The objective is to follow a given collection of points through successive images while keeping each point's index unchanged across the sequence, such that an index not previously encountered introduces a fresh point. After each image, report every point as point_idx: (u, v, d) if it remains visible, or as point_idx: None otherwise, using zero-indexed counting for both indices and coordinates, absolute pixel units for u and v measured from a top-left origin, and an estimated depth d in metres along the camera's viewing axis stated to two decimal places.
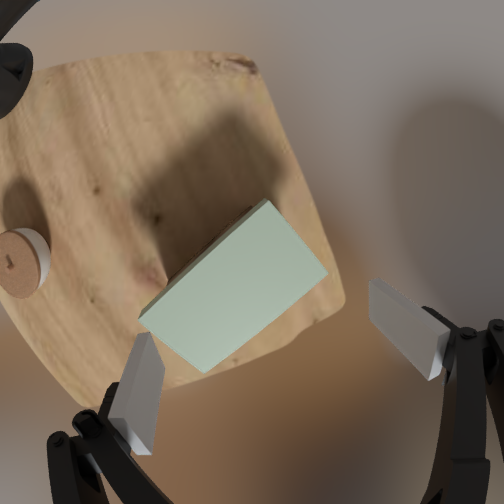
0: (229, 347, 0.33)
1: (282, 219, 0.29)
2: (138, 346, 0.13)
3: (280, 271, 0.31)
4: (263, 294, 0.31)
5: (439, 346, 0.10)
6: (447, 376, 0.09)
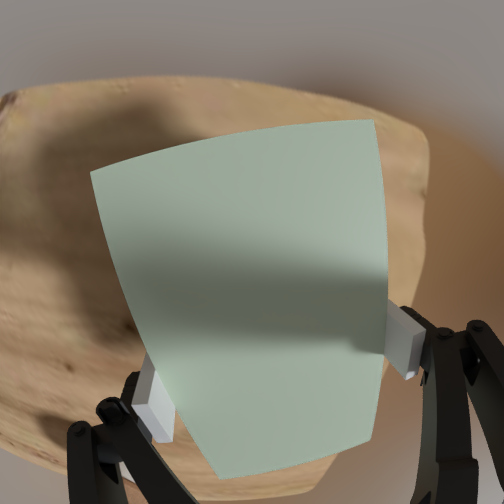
0: (366, 400, 0.14)
1: (152, 158, 0.09)
2: None
3: (292, 235, 0.10)
4: (319, 303, 0.11)
5: (414, 346, 0.10)
6: (425, 377, 0.10)
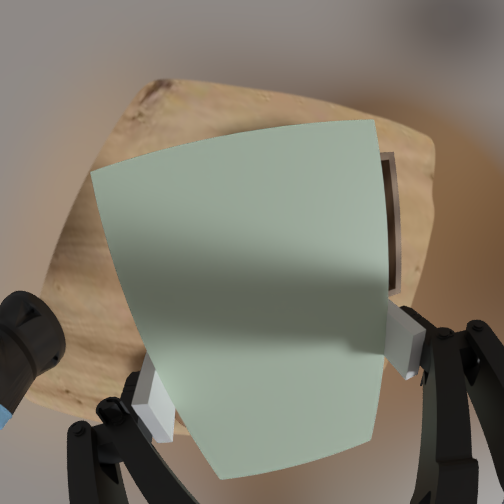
0: (366, 400, 0.14)
1: (153, 158, 0.09)
2: None
3: (293, 235, 0.10)
4: (319, 303, 0.11)
5: (414, 346, 0.10)
6: (425, 377, 0.10)
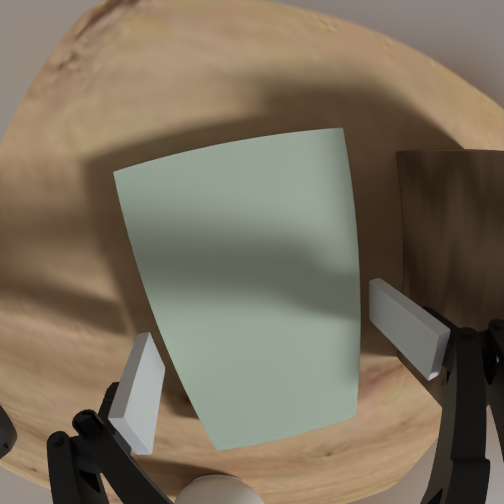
0: (347, 374, 0.16)
1: (164, 161, 0.12)
2: (138, 346, 0.13)
3: (274, 222, 0.13)
4: (298, 279, 0.14)
5: (439, 346, 0.10)
6: (447, 376, 0.09)
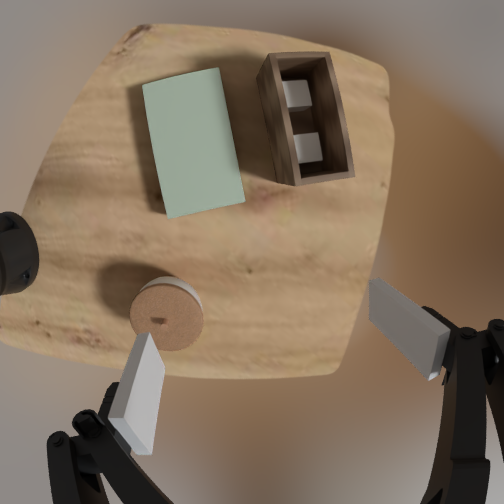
0: (231, 165, 0.37)
1: (159, 81, 0.32)
2: (138, 346, 0.13)
3: (193, 97, 0.34)
4: (202, 116, 0.35)
5: (439, 346, 0.10)
6: (447, 376, 0.09)
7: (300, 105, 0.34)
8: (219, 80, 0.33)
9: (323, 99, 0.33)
